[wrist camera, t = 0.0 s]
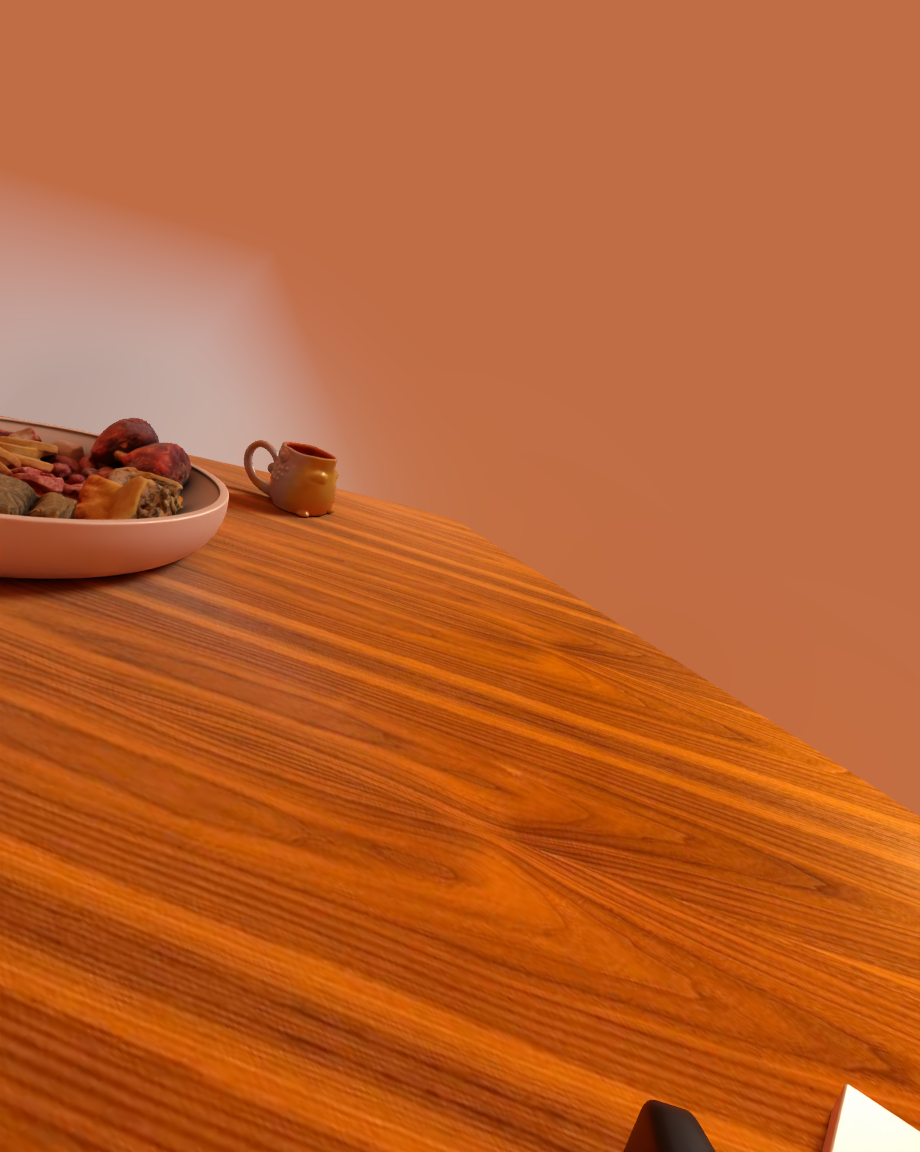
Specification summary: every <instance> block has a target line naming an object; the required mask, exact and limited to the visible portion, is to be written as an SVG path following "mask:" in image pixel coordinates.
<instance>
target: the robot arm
mask: <svg viewBox="0 0 920 1152" xmlns="http://www.w3.org/2000/svg"><path fill="white" fill-rule="evenodd" d="M624 1152H715V1150H714V1148H713V1147H712V1145H711V1143H710V1142H709V1140H708V1138H707V1136H706V1135H705V1133H704V1131H703V1130H702V1128H701V1126H700V1124H699V1123H698V1121H697V1120H696V1118H695V1117H694V1116H693V1115H692V1114H691V1113H690V1112H689V1111H687V1110H685V1109H682V1108H679V1107H676V1106H673V1105H669V1104H666V1103H663V1102H660V1101H657V1100H649V1101H647V1102H646V1103H645V1104H644V1106H643V1107H642V1109H641V1111H640V1113H639V1116H638V1118H637V1121H636V1123H635V1125H634V1128H633V1130H632V1133H631V1135H630V1137H629V1140H628V1142H627V1144H626V1147H625V1149H624Z"/></svg>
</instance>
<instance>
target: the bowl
mask: <svg viewBox="0 0 920 1152" xmlns="http://www.w3.org/2000/svg"><path fill="white" fill-rule="evenodd" d="M228 500H229V492H228V490H227V488H226V486H225V485H224V484H223V483H222V482H221V481H220V480H219V479H218V478H217V477H215V476H214V475H212V474H211V473H209V472H208V471H206V470H204V469H202V468H200V467H198V466H196V465H194V464H192V463H190V460H189V457H188V455H187V454H186V453H185V451H184V450H183V448H181V447H179V446H178V445H177V444H172V443H159V440H158V436H157V435H156V433H155V431H154V430H153V428H152V427H151V426H150V424H148V423H147V422H146V421H143V420H141V419H138V418H130V419H122V420H119V421H118V422H116V423H114V424H112V425H110V426H109V427H108V428H107V429H106V430H104V431H103V433H101V435H99V434H94V433H90V432H86V431H80V430H76V429H70V428H66V427H60V426H55V425H49V424H44V423H37V422H32V421H25V420H19V419H12V418H5V417H0V577H9V578H31V579H70V578H91V577H103V576H112V575H120V574H127V573H133V572H139V571H144V570H148V569H152V568H156V567H160V566H163V565H166V564H169V563H172V562H175V561H177V560H179V559H182V558H184V557H186V556H188V555H190V554H191V553H193V552H195V551H196V550H198V549H199V548H201V547H202V546H203V545H204V544H206V543H207V542H208V541H209V540H210V539H211V538H212V537H213V536H214V534H215V533H216V532H217V531H218V529H219V527H220V526H221V524H222V522H223V520H224V517H225V514H226V510H227V506H228Z"/></svg>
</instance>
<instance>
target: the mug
mask: <svg viewBox="0 0 920 1152" xmlns="http://www.w3.org/2000/svg"><path fill="white" fill-rule="evenodd" d="M258 447H263V448H265V449H267V450H268V451H269V452H270V454H271V455H272V457H273V460H274V463H271V464H269V466H268V471H269V472H270V473H271V474H272V475H271V481H270V483H267V482H265V481H264V480H262V479H261V478H260V477H259V476H258V475H257V474H256V472H255V469H254V467H253V463H252V456H253V453H254V451H255V450H256V448H258ZM336 462H337V458H336V457H334V456H333V455H331V454H329V453H327V452H325V451H323V450H321V449H319V448H317V447H314V446H311V445H306V444H300V443H292V442H284V443H283V444H282V446H281V449H280V451H279V454H278V453H277V451H276V450H275V448H274V447H273V446H272V445H271V444H270V443H268V442H266V441H263V440H259V441H255V442H254V443H252V444H251V445H250V446H249V447H248V448H247V449H246V452H245V455H244V466H245V470H246V472H247V474H248V476H249V478H250V480H251V481H252V483H253V484H254V485H255V486H256V487H257V488H258V489H259V490H261V491H262V492H263V493H265V494H266V495H268V496H270V497H271V498H272V501H273V503H274V505H275V506H277V507H279V508H281V509H283V510H286V511H289V512H292V513H295V514H297V515H299V516H302V517H308V516H320V515H324V514H326V513H333V512H334V509H333V508H332V505H333V503H334V499H335V494H336V481H337V479H338V472H337V471H336V470H335V466H336Z"/></svg>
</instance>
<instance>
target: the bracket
mask: <svg viewBox="0 0 920 1152" xmlns="http://www.w3.org/2000/svg"><path fill="white" fill-rule="evenodd" d="M822 1152H920V1131H918V1130H917V1129H915V1128H914V1127H912V1126H911V1125H909V1124H908V1123H906V1122H905V1121H903V1120H902V1119H900V1118H899V1117H897V1116H896V1115H894V1114H893V1113H891V1112H890V1111H888V1110H887V1109H885V1108H884V1107H882V1106H881V1105H879V1104H878V1103H876V1102H875V1101H873V1100H872V1099H870V1098H869V1097H867V1096H866V1095H864V1094H863V1093H861V1092H860V1091H858V1090H857V1089H855V1088H854V1087H852V1086H851V1085H849V1084H845V1085H844V1087H843V1089H842V1091H841V1093H840V1095H839V1097H838V1099H837V1101H836V1102H835V1104H834V1106H833V1108H832V1112H831V1116H830V1121H829V1125H828V1129H827V1133H826V1137H825V1141H824V1145H823V1149H822Z"/></svg>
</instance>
